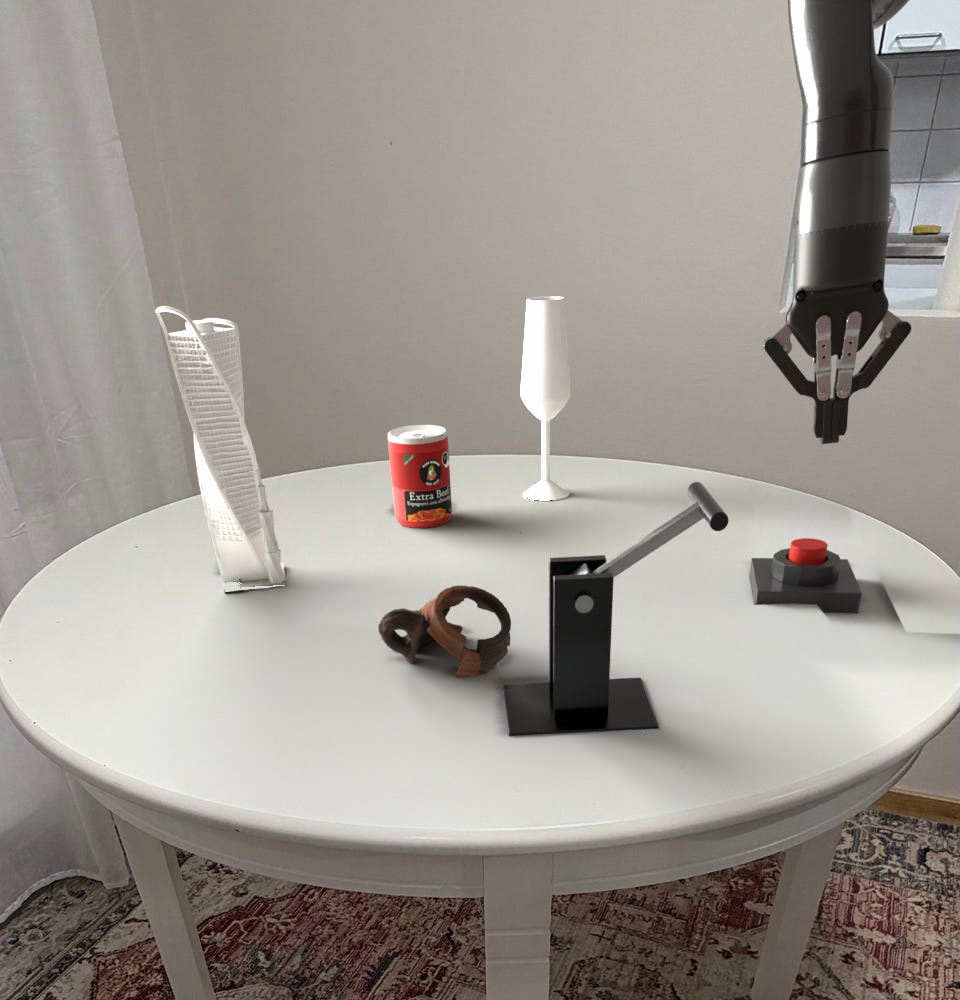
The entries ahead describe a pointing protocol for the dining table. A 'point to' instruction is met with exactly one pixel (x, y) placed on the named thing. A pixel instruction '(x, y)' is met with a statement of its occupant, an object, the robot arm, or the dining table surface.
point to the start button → (808, 551)
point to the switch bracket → (578, 663)
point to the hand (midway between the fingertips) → (829, 442)
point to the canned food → (420, 475)
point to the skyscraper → (225, 450)
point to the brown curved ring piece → (448, 630)
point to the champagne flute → (545, 379)
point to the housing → (805, 583)
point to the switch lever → (666, 532)
